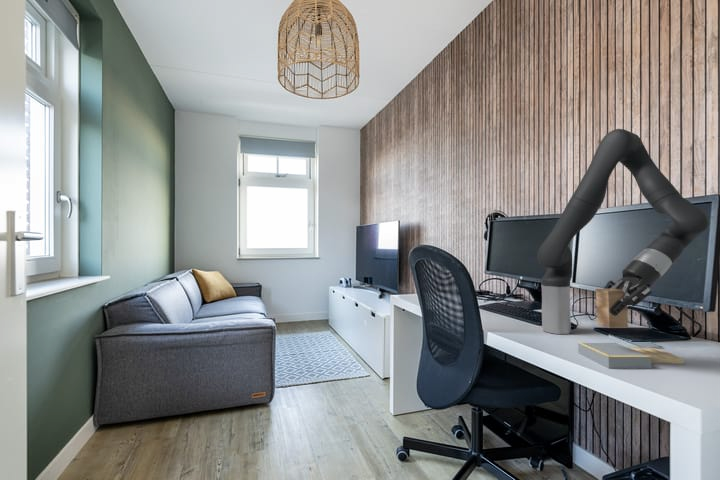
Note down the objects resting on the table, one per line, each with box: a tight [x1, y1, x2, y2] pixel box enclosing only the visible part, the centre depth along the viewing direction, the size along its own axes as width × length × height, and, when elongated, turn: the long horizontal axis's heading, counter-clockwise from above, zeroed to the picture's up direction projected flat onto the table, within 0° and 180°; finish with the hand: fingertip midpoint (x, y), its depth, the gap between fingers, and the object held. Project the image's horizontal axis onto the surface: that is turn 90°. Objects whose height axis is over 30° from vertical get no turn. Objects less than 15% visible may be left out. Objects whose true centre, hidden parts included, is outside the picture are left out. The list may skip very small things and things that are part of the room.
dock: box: [577, 342, 652, 369], centre depth 96 cm, size 13×11×3 cm
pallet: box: [626, 346, 685, 365], centre depth 97 cm, size 10×10×2 cm
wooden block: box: [595, 288, 629, 329], centre depth 96 cm, size 5×5×10 cm
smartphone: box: [608, 333, 665, 350], centre depth 113 cm, size 7×1×15 cm
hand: (605, 311), depth 96 cm, fingers closed on wooden block, 5 cm apart
